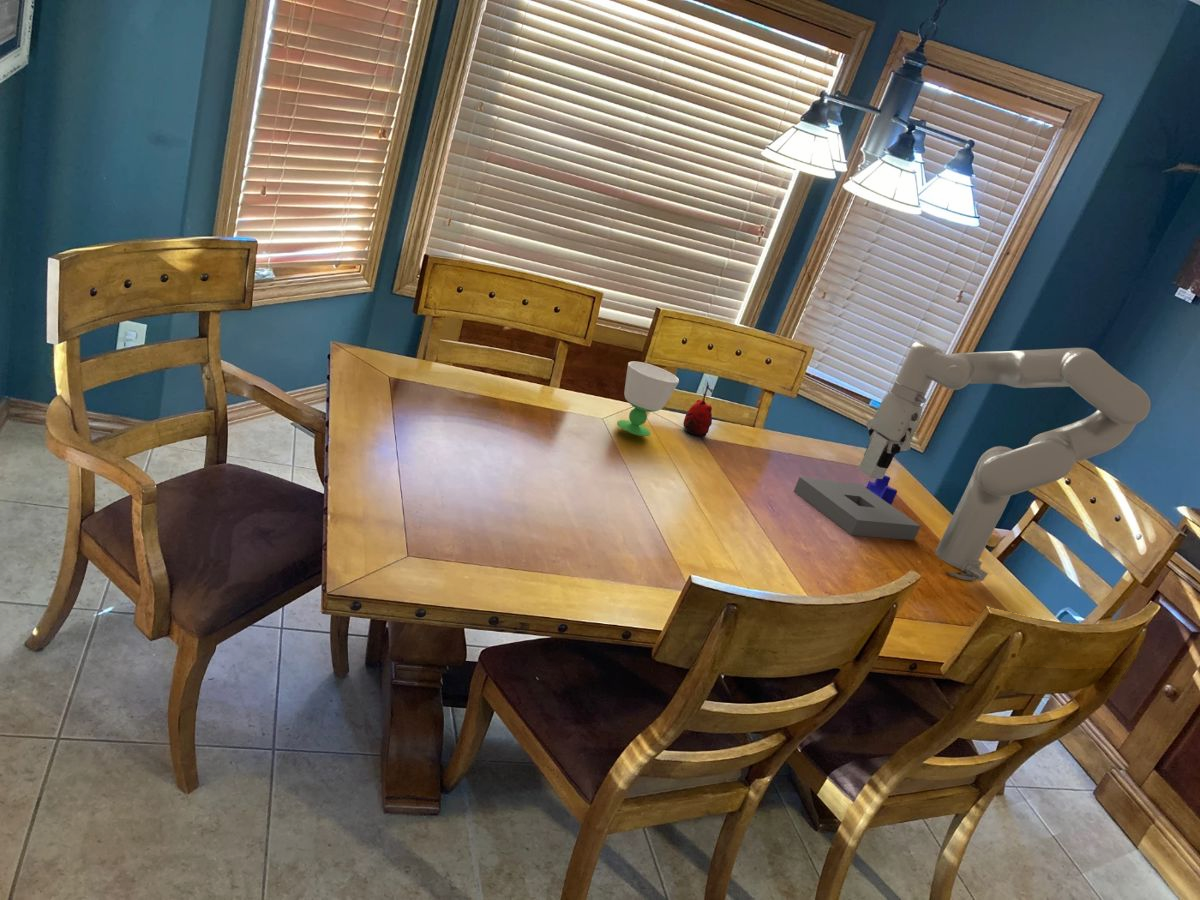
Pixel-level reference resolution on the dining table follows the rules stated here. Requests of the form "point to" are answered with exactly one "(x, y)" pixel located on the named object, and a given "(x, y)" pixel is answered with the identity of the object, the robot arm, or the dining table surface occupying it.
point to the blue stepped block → (882, 489)
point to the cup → (646, 394)
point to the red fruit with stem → (699, 417)
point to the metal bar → (874, 457)
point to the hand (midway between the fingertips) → (875, 461)
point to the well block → (856, 509)
